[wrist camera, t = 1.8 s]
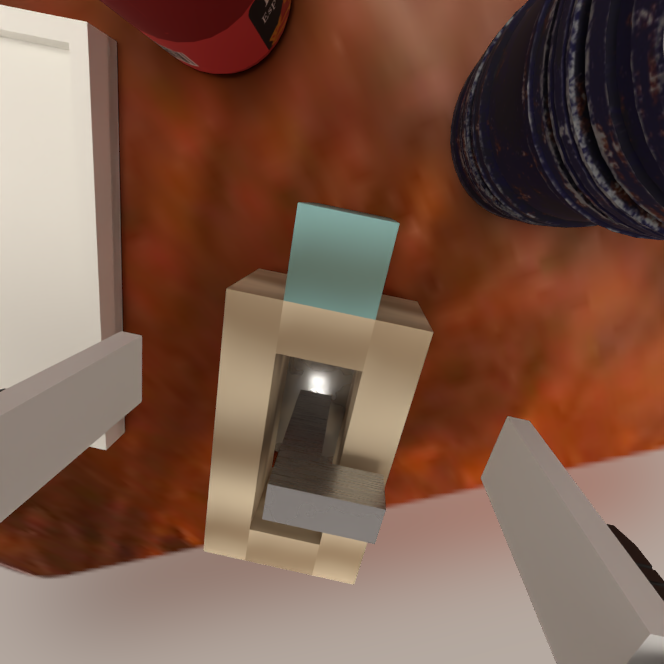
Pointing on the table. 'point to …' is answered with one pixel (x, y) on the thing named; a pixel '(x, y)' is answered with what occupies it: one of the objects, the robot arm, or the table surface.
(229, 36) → the canned food
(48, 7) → the table surface
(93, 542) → the table surface
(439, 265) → the table surface
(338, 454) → the beige hollow block
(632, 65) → the dark blue cylinder
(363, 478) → the grey piece
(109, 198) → the tray
